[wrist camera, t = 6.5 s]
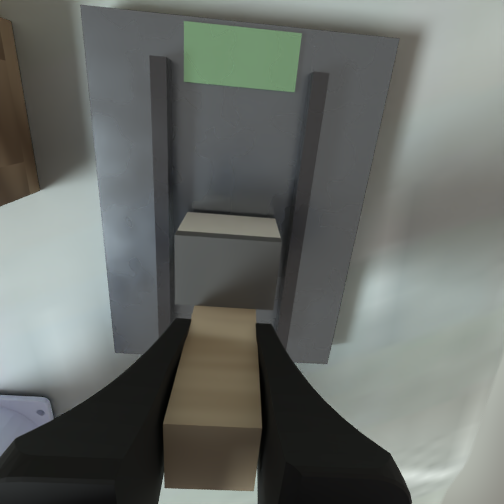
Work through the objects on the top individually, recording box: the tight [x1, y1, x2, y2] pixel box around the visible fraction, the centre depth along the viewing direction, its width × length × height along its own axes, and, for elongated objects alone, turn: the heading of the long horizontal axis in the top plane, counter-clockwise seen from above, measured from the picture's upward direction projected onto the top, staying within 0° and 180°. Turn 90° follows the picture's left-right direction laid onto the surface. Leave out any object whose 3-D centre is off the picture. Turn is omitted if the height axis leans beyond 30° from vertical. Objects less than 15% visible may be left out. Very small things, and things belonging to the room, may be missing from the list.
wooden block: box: [163, 306, 262, 491], centre depth 12 cm, size 2×2×8 cm
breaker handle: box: [174, 212, 282, 310], centre depth 14 cm, size 3×4×3 cm
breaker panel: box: [80, 5, 399, 364], centre depth 16 cm, size 16×12×2 cm
